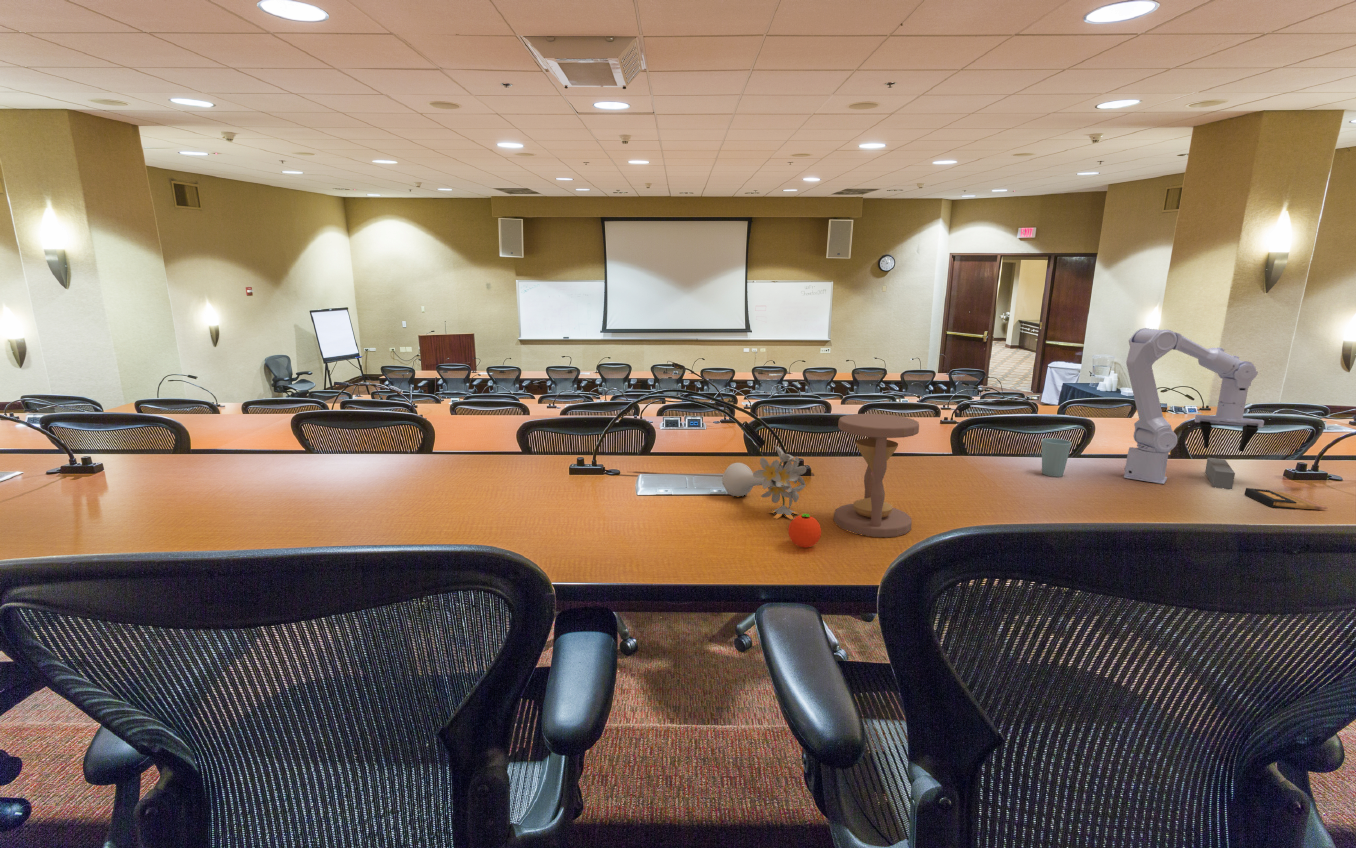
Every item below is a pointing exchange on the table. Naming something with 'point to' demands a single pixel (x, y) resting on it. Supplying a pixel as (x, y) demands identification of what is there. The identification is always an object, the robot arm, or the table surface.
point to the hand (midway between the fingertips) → (1223, 449)
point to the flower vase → (767, 479)
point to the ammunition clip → (1282, 499)
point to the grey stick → (1219, 473)
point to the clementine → (804, 531)
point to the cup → (1054, 456)
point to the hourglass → (875, 475)
